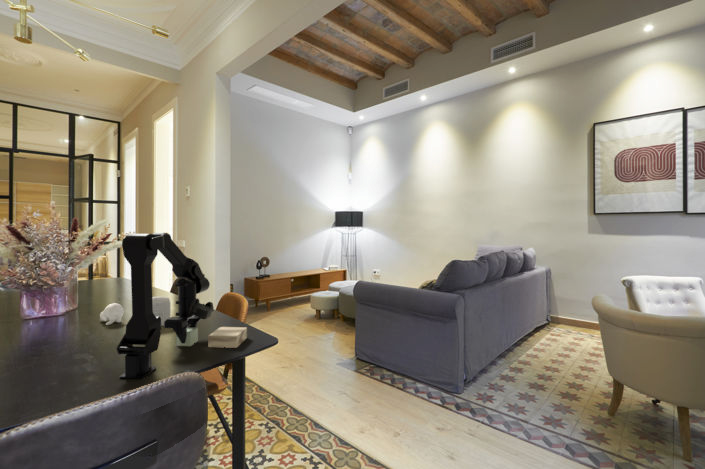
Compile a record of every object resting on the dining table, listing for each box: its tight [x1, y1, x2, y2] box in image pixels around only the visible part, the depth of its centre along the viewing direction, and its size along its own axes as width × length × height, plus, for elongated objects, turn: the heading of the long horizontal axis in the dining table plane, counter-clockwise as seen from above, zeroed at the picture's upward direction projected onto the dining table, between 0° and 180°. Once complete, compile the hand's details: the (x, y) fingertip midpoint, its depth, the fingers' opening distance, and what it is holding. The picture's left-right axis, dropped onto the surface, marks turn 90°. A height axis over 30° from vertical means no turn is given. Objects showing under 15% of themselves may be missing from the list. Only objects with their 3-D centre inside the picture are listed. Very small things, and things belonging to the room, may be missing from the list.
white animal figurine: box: [99, 302, 125, 326], centre depth 141 cm, size 6×8×12 cm
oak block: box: [207, 326, 248, 349], centre depth 119 cm, size 10×10×4 cm
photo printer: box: [152, 295, 171, 327], centre depth 136 cm, size 10×4×12 cm, turn 123°
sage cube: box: [176, 326, 199, 347], centre depth 117 cm, size 5×5×5 cm
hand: (187, 340), depth 117 cm, fingers closed on sage cube, 5 cm apart
